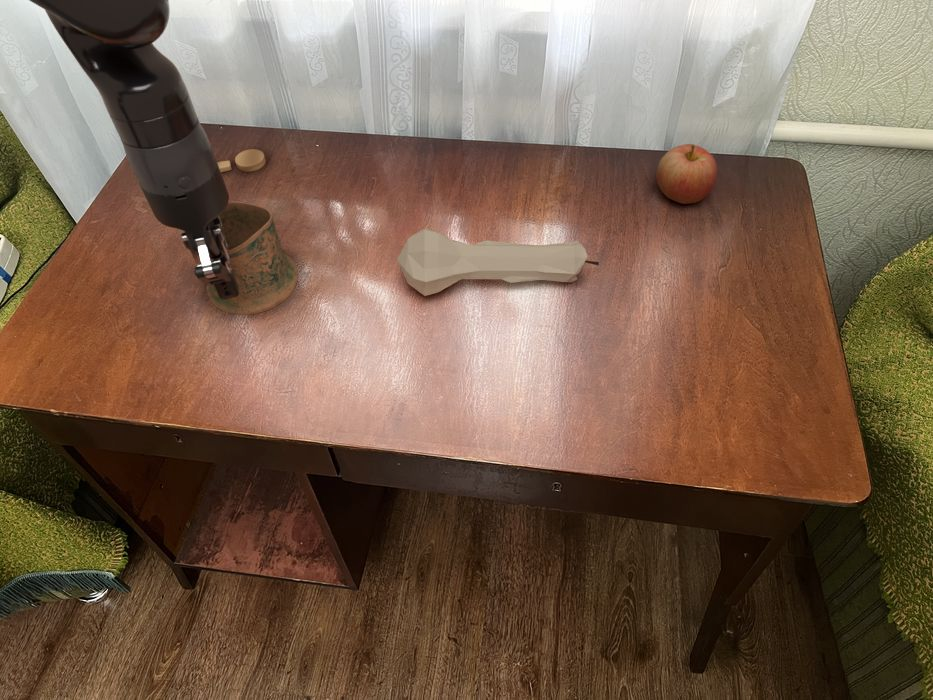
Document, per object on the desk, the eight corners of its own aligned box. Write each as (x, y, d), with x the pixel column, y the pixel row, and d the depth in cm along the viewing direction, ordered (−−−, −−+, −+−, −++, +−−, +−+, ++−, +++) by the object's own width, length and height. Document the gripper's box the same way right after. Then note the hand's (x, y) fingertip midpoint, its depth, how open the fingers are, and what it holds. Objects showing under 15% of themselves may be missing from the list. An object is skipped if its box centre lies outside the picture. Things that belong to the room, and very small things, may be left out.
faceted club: (399, 252, 91) (589, 250, 92) (399, 310, 88) (595, 307, 88) (395, 213, 83) (602, 211, 84) (394, 276, 80) (610, 273, 80)
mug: (217, 226, 97) (188, 153, 88) (316, 269, 91) (295, 195, 82) (155, 277, 91) (116, 205, 82) (257, 327, 85) (227, 255, 75)
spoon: (164, 190, 102) (162, 184, 102) (163, 172, 105) (161, 167, 104) (267, 168, 105) (265, 162, 104) (263, 152, 108) (262, 146, 107)
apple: (655, 173, 101) (666, 125, 95) (712, 182, 100) (726, 133, 93) (648, 208, 96) (658, 160, 90) (707, 217, 95) (722, 169, 89)
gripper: (136, 139, 71) (194, 264, 84) (136, 218, 63) (200, 343, 76) (211, 124, 72) (256, 250, 85) (220, 200, 64) (269, 326, 77)
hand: (230, 293), depth 81 cm, fingers closed
